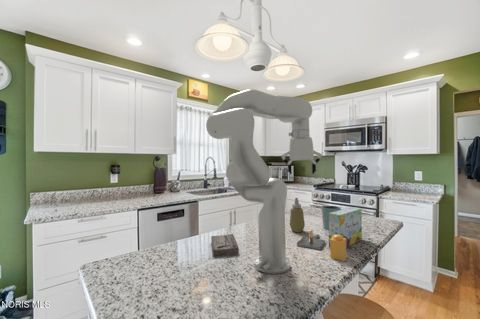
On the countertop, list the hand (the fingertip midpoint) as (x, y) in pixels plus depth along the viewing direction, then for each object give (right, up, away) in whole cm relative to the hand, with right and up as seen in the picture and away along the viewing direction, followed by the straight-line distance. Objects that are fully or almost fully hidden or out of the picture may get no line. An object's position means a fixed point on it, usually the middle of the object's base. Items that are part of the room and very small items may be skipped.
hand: (301, 173), depth 101 cm
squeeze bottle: (+4, -33, +24) cm, 41 cm away
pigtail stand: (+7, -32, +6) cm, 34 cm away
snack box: (+21, -32, +3) cm, 39 cm away
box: (-34, -34, +1) cm, 48 cm away
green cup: (+24, -33, +28) cm, 49 cm away
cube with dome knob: (+11, -32, -12) cm, 36 cm away
